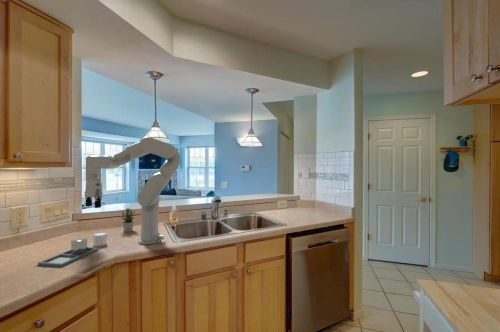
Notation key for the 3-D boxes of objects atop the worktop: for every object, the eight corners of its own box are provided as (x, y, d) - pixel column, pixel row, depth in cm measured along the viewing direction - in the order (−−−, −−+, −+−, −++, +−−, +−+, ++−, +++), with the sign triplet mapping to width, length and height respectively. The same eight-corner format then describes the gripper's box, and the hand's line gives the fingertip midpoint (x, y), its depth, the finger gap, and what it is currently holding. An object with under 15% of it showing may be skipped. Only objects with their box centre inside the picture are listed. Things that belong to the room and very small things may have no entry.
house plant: (113, 229, 176) (113, 206, 176) (134, 227, 185) (135, 204, 185) (117, 234, 165) (117, 209, 165) (140, 231, 173) (140, 207, 173)
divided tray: (101, 251, 132) (101, 247, 132) (61, 271, 108) (61, 265, 108) (77, 250, 133) (77, 246, 133) (33, 269, 110) (33, 263, 110)
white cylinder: (96, 244, 144) (96, 232, 144) (109, 244, 144) (109, 232, 144) (90, 248, 137) (90, 235, 137) (103, 248, 137) (103, 235, 137)
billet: (90, 251, 129) (90, 238, 129) (79, 256, 122) (80, 242, 122) (78, 250, 130) (78, 238, 129) (67, 255, 123) (67, 242, 123)
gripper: (108, 177, 144) (108, 207, 145) (92, 176, 154) (92, 204, 154) (94, 178, 138) (94, 209, 138) (78, 177, 147) (78, 206, 147)
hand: (93, 206), depth 146 cm, fingers open, 9 cm apart
